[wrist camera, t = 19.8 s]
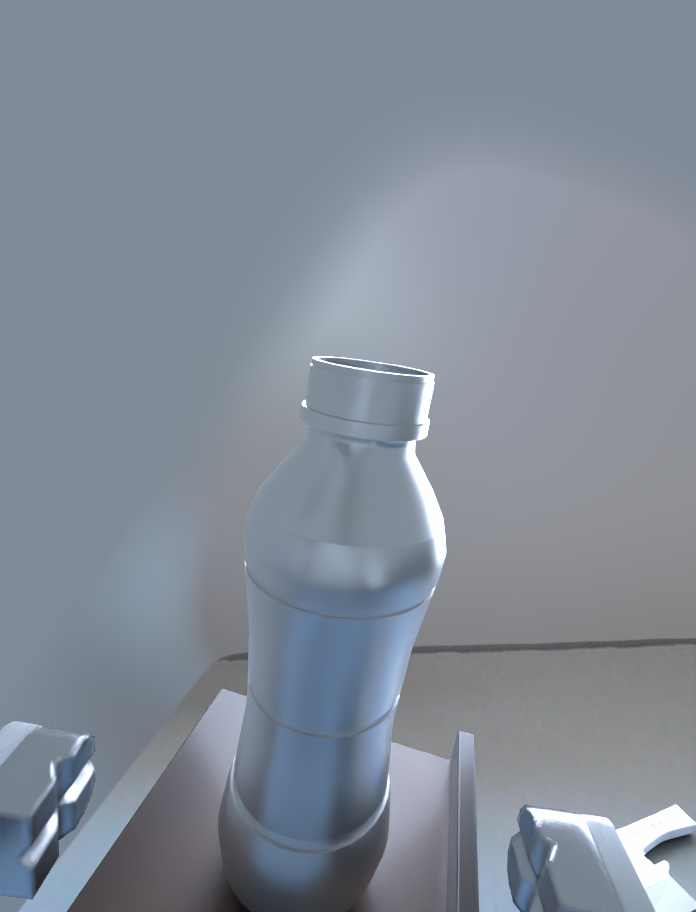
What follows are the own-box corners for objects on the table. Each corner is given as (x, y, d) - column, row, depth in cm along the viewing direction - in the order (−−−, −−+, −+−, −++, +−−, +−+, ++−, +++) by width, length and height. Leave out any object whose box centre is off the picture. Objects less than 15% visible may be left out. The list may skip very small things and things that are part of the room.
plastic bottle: (411, 900, 18) (539, 392, 13) (243, 1010, 15) (324, 376, 10) (332, 763, 24) (400, 360, 18) (193, 820, 20) (228, 342, 15)
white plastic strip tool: (743, 882, 33) (749, 871, 32) (589, 973, 27) (594, 960, 26) (671, 811, 37) (676, 800, 37) (525, 875, 31) (530, 863, 31)
